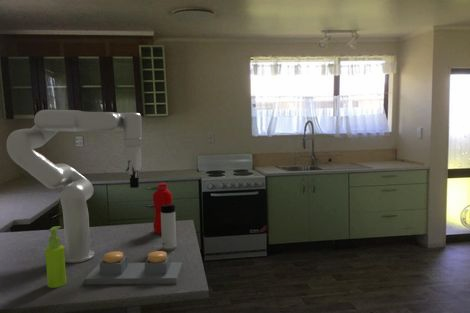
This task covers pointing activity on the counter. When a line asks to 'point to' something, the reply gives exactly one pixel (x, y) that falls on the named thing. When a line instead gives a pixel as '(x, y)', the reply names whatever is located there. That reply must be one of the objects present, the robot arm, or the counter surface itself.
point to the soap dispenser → (55, 261)
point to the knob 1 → (113, 257)
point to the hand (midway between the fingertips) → (134, 187)
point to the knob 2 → (157, 257)
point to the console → (135, 273)
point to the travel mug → (168, 227)
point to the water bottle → (160, 204)
